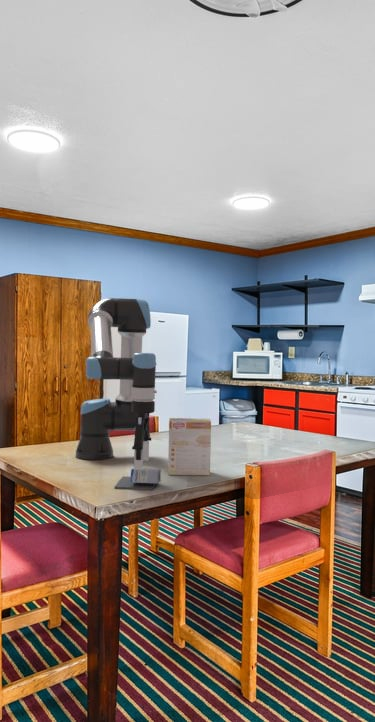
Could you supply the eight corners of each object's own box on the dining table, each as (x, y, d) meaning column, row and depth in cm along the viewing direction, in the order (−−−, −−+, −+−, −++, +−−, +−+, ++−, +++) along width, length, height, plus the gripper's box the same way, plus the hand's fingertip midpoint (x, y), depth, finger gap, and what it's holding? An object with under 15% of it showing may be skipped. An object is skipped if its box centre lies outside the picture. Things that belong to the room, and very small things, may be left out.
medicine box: (160, 482, 173) (134, 481, 174) (161, 468, 174) (135, 467, 174) (157, 483, 165) (130, 482, 166) (157, 469, 166) (130, 468, 167)
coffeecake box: (208, 471, 193) (210, 418, 193) (210, 476, 186) (211, 420, 186) (167, 470, 193) (169, 417, 193) (167, 475, 186) (169, 420, 185)
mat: (122, 478, 180) (122, 476, 180) (157, 479, 179) (157, 477, 179) (114, 488, 166) (114, 486, 166) (152, 490, 165) (152, 488, 165)
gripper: (149, 405, 159) (147, 474, 160) (159, 396, 184) (157, 457, 185) (125, 404, 160) (123, 473, 161) (137, 396, 185) (136, 456, 185)
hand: (141, 464), depth 173 cm, fingers open, 13 cm apart
